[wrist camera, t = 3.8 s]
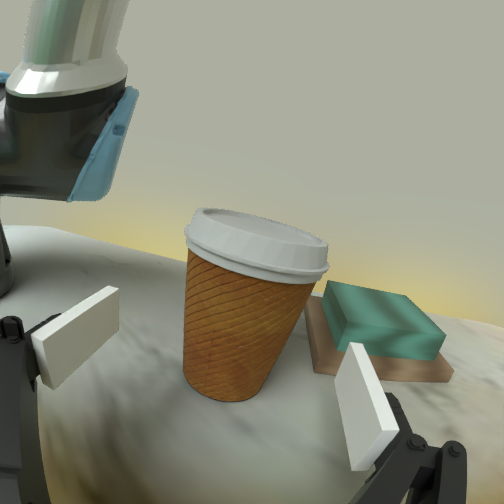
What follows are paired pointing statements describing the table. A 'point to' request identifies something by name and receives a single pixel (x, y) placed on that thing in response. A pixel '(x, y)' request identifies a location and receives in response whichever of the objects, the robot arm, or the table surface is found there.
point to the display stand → (375, 333)
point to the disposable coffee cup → (243, 297)
